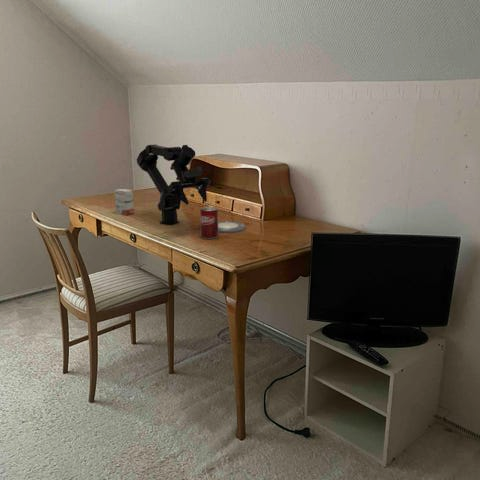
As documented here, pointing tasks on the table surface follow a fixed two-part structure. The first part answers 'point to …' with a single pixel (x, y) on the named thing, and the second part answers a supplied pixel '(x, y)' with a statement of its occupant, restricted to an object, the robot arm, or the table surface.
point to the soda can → (209, 222)
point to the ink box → (124, 201)
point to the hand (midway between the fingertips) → (197, 202)
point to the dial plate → (230, 227)
